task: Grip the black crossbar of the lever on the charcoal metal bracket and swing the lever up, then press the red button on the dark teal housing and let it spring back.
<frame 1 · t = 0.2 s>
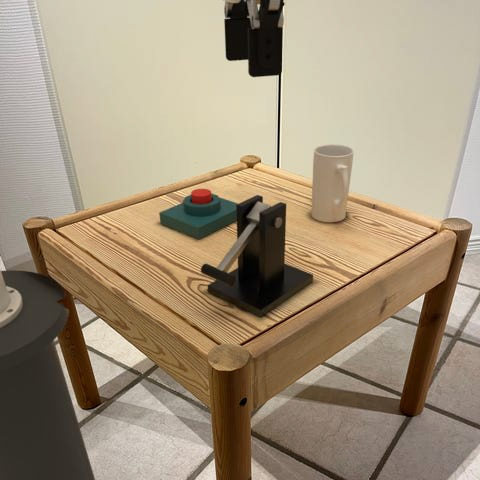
hand: (251, 67, 53), 30 cm above the table, tool pointing down, fingers open, 9 cm apart
mug: (331, 220, 93), on the table
bracket: (261, 286, 75), on the table
button: (201, 196, 91), point 4 cm above the table, slide at 0.1 cm
lever: (241, 243, 67), point 9 cm above the table, hinge at -30.0°
button box: (203, 220, 94), on the table
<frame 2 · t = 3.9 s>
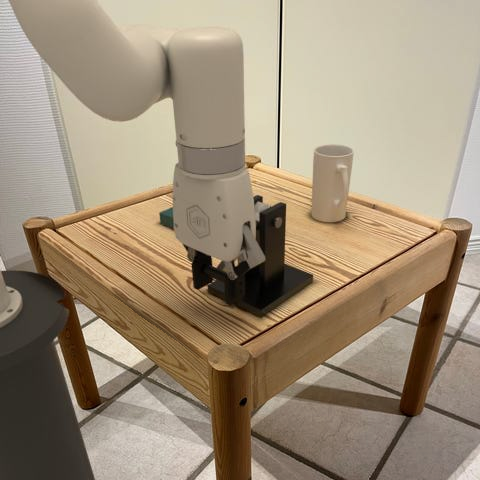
hand: (219, 291, 68), 3 cm above the table, tool pointing down, fingers closed on lever, 5 cm apart
lever: (241, 243, 67), point 9 cm above the table, hinge at -30.0°, touching gripper
everything else where it was.
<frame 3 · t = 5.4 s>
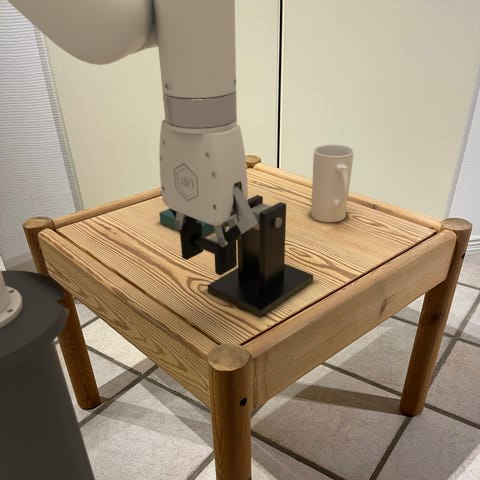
hand: (209, 261, 64), 9 cm above the table, tool pointing down, fingers closed on lever, 5 cm apart
lever: (237, 229, 66), point 11 cm above the table, hinge at -1.4°, touching gripper
everything else where it was.
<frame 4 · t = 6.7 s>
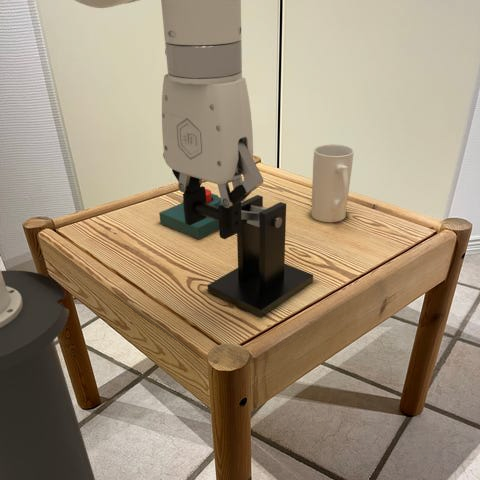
hand: (213, 226, 62), 13 cm above the table, tool pointing down, fingers closed on lever, 5 cm apart
lever: (239, 214, 65), point 13 cm above the table, hinge at 22.8°, touching gripper
everything else where it was.
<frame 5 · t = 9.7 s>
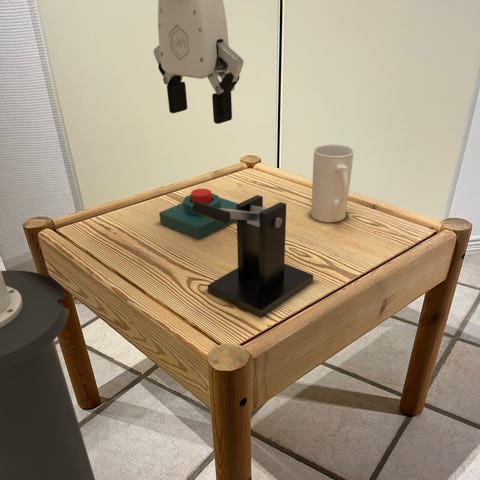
hand: (200, 116, 77), 20 cm above the table, tool pointing down, fingers open, 9 cm apart
lever: (239, 214, 65), point 13 cm above the table, hinge at 22.5°
everything else where it was.
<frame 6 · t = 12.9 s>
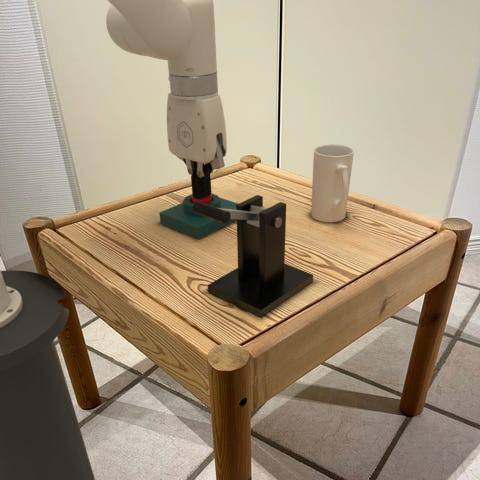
hand: (202, 195, 91), 5 cm above the table, tool pointing down, fingers closed
button: (201, 200, 92), point 4 cm above the table, slide at -0.6 cm, touching gripper
everything else where it was.
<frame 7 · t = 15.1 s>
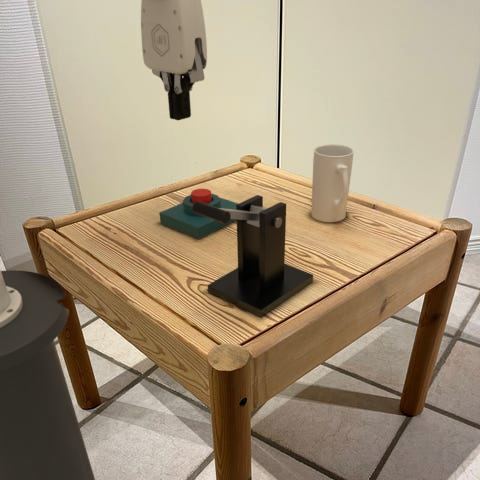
hand: (180, 117, 83), 18 cm above the table, tool pointing down, fingers closed
button: (201, 196, 91), point 4 cm above the table, slide at 0.1 cm
everything else where it was.
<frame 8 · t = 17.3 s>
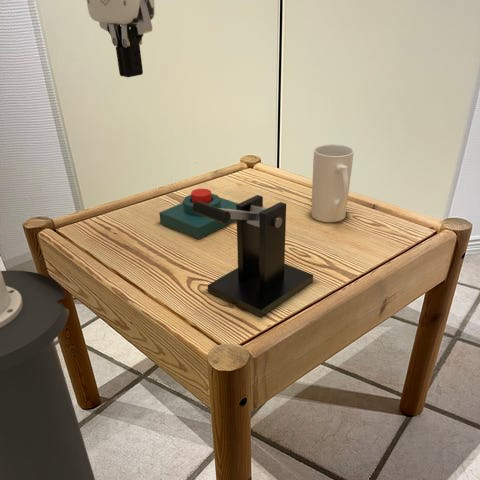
hand: (131, 75, 77), 25 cm above the table, tool pointing down, fingers closed
nothing on the table moved.
at the end: lever at +22° (first picture: -30°); button pushed in 1.1 cm at the most during the clip, back to where it started at the end; button slide at 0.1 cm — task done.
